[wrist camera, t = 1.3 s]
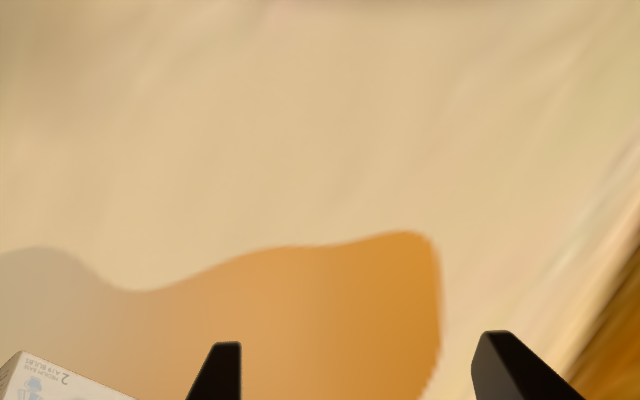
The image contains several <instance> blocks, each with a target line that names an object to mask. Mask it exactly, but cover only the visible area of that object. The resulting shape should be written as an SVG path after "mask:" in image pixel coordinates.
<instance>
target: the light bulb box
mask: <svg viewBox="0 0 640 400" xmlns="http://www.w3.org/2000/svg"><path fill="white" fill-rule="evenodd" d="M0 400H138V399H136V398H133V397H131V396H128V395H126V394H124V393H121V392H119V391H117V390H114V389H112V388H110V387H107V386H105V385H102V384H100V383H98V382H96V381H93V380H91V379H89V378H86V377H84V376H82V375H79V374H77V373H74V372H72V371H70V370H67V369H65V368H63V367H60V366H58V365H56V364H53V363H51V362H49V361H46V360H44V359H41V358H39V357H37V356H35V355H32V354H30V353H28V352H25V351H20V352H18V353H16V354H15V355H14V356H13V357H12V358H11V359H9V360H8V362H6V363H5V364H4V365H3V366H2V367H1V368H0Z"/></svg>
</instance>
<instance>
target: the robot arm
mask: <svg viewBox="0 0 640 400" xmlns="http://www.w3.org/2000/svg"><path fill="white" fill-rule="evenodd" d="M471 376H472V381H473V385H474V390H475V394H476V399H477V400H586V399H585V398H584V397H582V396H581V395H580V394H579V393H578V392H577V391H576V390H575V389H574V388H572V387H571V386H570V385H569V384H568V383H567V382H566V381H565V380H564V379H563V378H561V377H560V376H559V375H558V374H557V373H556V372H555V371H554V370H553V369H551V368H550V367H549V366H548V365H547V364H546V363H545V362H544V361H543V360H542V359H540V358H539V357H538V356H537V355H536V354H535V353H534V352H533V351H532V350H530V349H529V348H528V347H527V346H526V345H525V344H524V343H523V342H522V341H520V340H519V339H518V338H517V337H516V336H515V335H514V334H513V333H511V332H509V331H507V330H493V331H485V332H484V333H483V334H482V335H481V337H480V340H479V343H478V346H477V348H476V351H475V354H474V357H473V360H472V364H471ZM185 400H242V347H241V343H240V342H237V341H230V342H217V343H215V344H214V345H213V346H212V348H211V350H210V352H209V354H208V355H207V357H206V359H205V361H204V363H203V365H202V367H201V369H200V371H199V373H198V375H197V377H196V379H195V381H194V383H193V385H192V387H191V389H190V391H189V393H188V395H187V397H186V399H185Z"/></svg>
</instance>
